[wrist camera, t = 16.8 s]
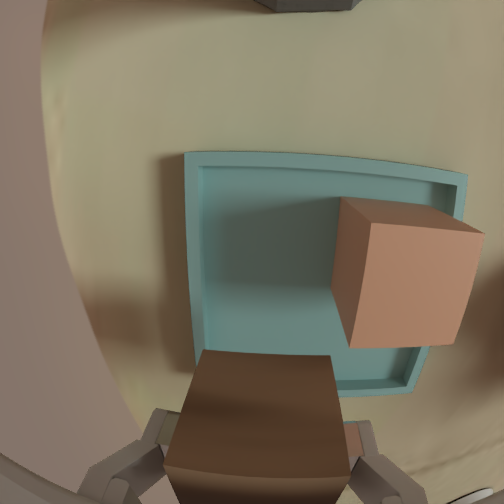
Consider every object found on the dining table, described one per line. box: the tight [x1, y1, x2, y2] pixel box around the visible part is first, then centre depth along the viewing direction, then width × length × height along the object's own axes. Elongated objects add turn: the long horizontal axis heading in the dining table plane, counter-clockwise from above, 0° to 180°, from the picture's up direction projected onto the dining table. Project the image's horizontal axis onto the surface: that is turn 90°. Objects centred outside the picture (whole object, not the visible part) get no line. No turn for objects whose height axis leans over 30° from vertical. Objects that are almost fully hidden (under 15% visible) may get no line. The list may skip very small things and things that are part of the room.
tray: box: [184, 151, 468, 397], centre depth 15 cm, size 13×13×2 cm
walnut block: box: [163, 349, 351, 504], centre depth 9 cm, size 4×4×5 cm
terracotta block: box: [331, 196, 485, 348], centre depth 12 cm, size 4×4×5 cm
